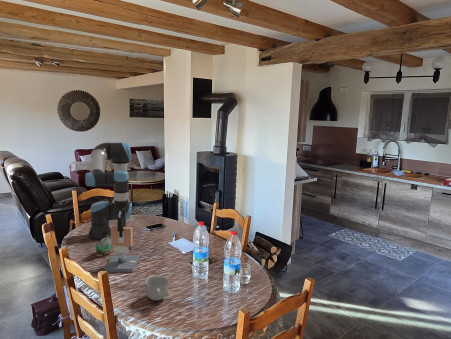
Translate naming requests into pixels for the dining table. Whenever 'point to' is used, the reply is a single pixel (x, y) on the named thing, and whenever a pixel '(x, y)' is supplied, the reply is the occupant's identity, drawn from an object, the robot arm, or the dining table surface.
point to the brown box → (127, 239)
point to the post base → (121, 263)
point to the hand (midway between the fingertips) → (122, 240)
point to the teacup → (156, 287)
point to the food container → (103, 246)
